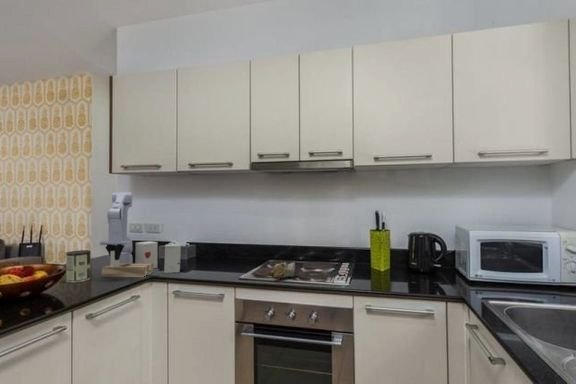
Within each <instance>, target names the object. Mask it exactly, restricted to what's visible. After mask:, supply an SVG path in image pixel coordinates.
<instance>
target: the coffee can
mask: <svg viewBox="0 0 576 384" xmlns="http://www.w3.org/2000/svg"><path fill="white" fill-rule="evenodd" d="M91 252H92V251H91V250H88V249H87V250H86V249H85V250H84V249H83V250H82V249H81V250H73V251H67V252H66V253H65V254H66V257H65V259H66V261H65V262H66V264H65V265H66V267H65V268H66V269H65V270H66V271H65V272H66V281H65V282H66V283H71V284H72V283H73V284H74V283H81V282H87V281H89V280H91Z"/></svg>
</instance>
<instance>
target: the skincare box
mask: <svg viewBox="0 0 576 384" xmlns="http://www.w3.org/2000/svg"><path fill="white" fill-rule="evenodd" d="M181 247H182V245H181V243H180V244H177V243H176V244H169V243H168V244H165V246H164V266H163V267H164V269H163V273H164V274H170V273H171V274H172V273H180V272H181V271H180V270H181V253H182V252H181V250H182V248H181Z"/></svg>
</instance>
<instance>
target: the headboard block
mask: <svg viewBox="0 0 576 384" xmlns="http://www.w3.org/2000/svg"><path fill="white" fill-rule="evenodd" d="M153 273H154V268H153V263H134V262H132V263H119V266H117V267H110V264H108V265H105V266H101V278H145V277H147V276H149V275H151V274H153ZM146 275H147V276H146ZM144 276H145V277H144Z"/></svg>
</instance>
